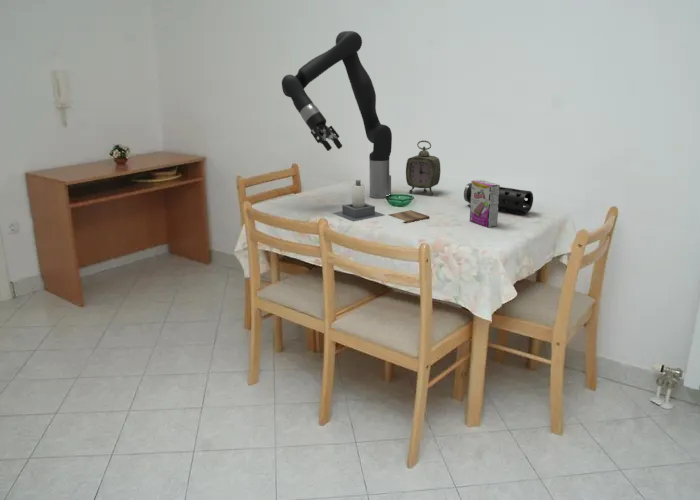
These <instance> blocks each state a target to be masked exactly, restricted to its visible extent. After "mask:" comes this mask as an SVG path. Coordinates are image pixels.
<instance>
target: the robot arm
mask: <svg viewBox="0 0 700 500" xmlns="http://www.w3.org/2000/svg"><path fill="white" fill-rule="evenodd" d="M362 44H363V39H362V37H361V35H360V34H359V33H358V32H356V31H354V30H345V31H341V32H339V33H338V34H337V36H336V37H335V45H333V46H332V47H331V48H330V49H328V50H326V51H325V52H323V53H322V54H319V55H317V56H315V57H314V58H312V59H310V60H309V61H308V62H307V63H305V64H304V65H302V66H301V67H300V68H299V70H298V71H297V73H296V74H295V75H293V74H286V75H284V76H283V77H282V80H281V89H282V92H283V95H285V96H286V97H287V98H290V99H291V100H292V104H293V106H294V108H295V109H296V111H297V112H298V114H299V115H300V116H301V119H302V120H303V121H304V123H305V124H306V125H307V127H308V129H309V130H310V134H311V135H312V137H313V138H314V139H315V141H316V142H317V144H320V145H322V146H323V147H324V148H325V150H326V151H331V149H332V148H333V147H332V145H331V144H330V143H329V140H330V141H332V143H333V144H334V145H335V147H336V148H337V149H338V150H340V149H341V148H342V147H343V144H342V143H341V142H340V140H339V138H340V135H339V133H338V132H337V131H336V129H335V128H334V127H333V125H330V126H327V125H326V124H327V119H326V118H325V116H324V115H323V113H322V112H321V111H320V110H319V108H318V107H317V106H316V105H315V103H314V102H313V100H312V99H311V98H310V97H309V96H308V94H307V92H306V91H305V89H306V87H307V86H308V85H309V84H310V83H311V82H312V81H315V79H317V78H318V77H319V76H320V75H322V74H323V73H324V72H327V70H328V69H331V67H333V66H334V65H336V64H337V63H339V62H340V61H342V62H343V65H344V68H345V71H346V74H347V78H348V81H349V83H350V87H351V90H352V93H353V95H354V99H355V101H356V104H357V107H358V110H359V112H360V116H361V118H362V122H363V126H364V130H365V135H366V139H367V140H368V141H369V142H370V143H371V144H373V146H372V147H373V150H372V152H370V153H369V155H368V156H369V158H368V159H369V160H368V161H369V197H370V198H375V199H385V198H387V197H386V195H389V194H391V195H392V175H390V156H391V153H392V145H393V143H392V142H393V141H392V140H393V139H392V138H393V136H392V135H393V134H392V131H391V130H392V129H391V128H390V127H389V126H388V125H386V124H381V122H380V120H379V116H378V114H377V108H376V107H377V106H376V105H377V104H376V103H377V95H376V91H375V87H374V83H373V81H372V78H371V77H370V75H369V74H368V72H367V70H366V69H365V67H364V66H363V64H362V63H361V62H362V61H361V60H360V57H359V54H358V52H359V51H360V50H361V47H362Z"/></svg>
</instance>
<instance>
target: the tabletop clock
mask: <svg viewBox="0 0 700 500" xmlns="http://www.w3.org/2000/svg"><path fill="white" fill-rule="evenodd" d="M420 143H427V144H428V145H429V147H427V148H426V146H423V147H420V146H419V144H420ZM431 147H432V144H431V142H430V141H428V140H420V141H418V142H417V148H418V149H420V151H419V152H418V155H415V156H412V157H409V158H407V160H406V165H405V179H406V183H407V185H408V186H409V187H411V189H409V190H408V193H409V194H413V190H414V189H415V188H416V189H422V190H423V191H422V192H423V193H427V190H428V189H429V195H430V196H431V197H432V196H433V195H434V193H433V191H432V188H433V187H435V186H438V184H439V182H440V179H441V162H440V161H441V160H440V159H439V157H437V156H435V155H430V152H429V151H428V150H430V149H431Z"/></svg>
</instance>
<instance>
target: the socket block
mask: <svg viewBox="0 0 700 500" xmlns="http://www.w3.org/2000/svg"><path fill="white" fill-rule="evenodd" d="M341 208H342V209H341V211H336V212H332V215H335V216H338V217H340V218H342V219H345V220H348V221H351V222H358V221H363V220H369V219H374V218H378V217H384V216H385V214H383V213H381V212H378V211H376V209H375V208H376V206H375V205H372V204H369V203H366V202H365V207H363V208H357V209H356V208H353V207H352V203H347V204H343V205H342V206H341Z"/></svg>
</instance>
